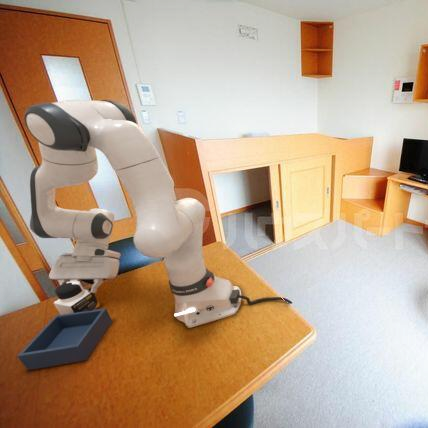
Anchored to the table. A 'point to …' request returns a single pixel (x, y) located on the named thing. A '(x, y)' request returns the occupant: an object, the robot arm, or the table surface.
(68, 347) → the bin
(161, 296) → the table surface
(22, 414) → the table surface
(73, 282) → the medicine bottle
